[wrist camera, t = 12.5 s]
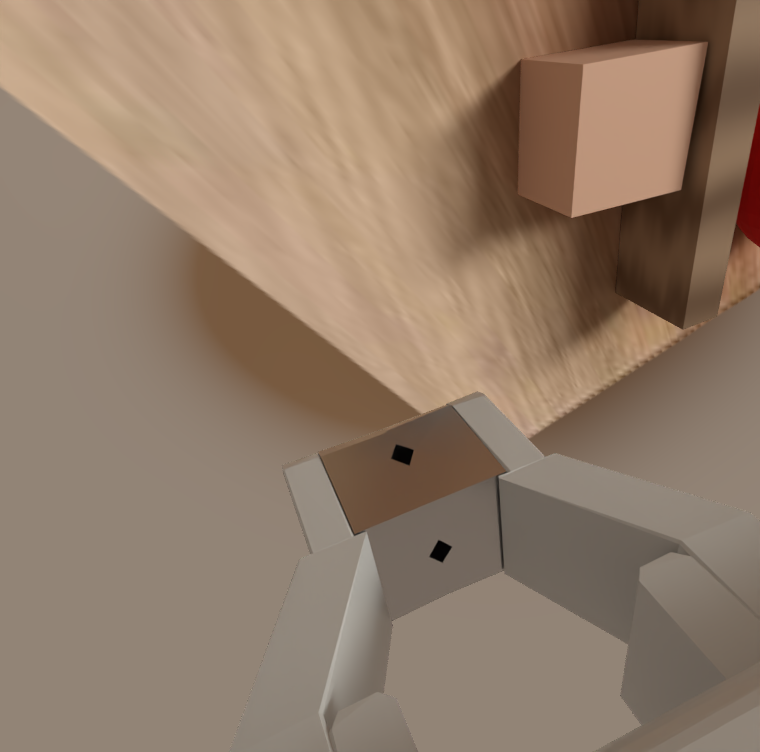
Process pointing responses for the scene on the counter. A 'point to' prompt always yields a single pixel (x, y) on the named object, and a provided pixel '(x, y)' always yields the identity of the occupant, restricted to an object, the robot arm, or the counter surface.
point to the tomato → (751, 191)
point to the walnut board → (696, 166)
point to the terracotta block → (607, 123)
